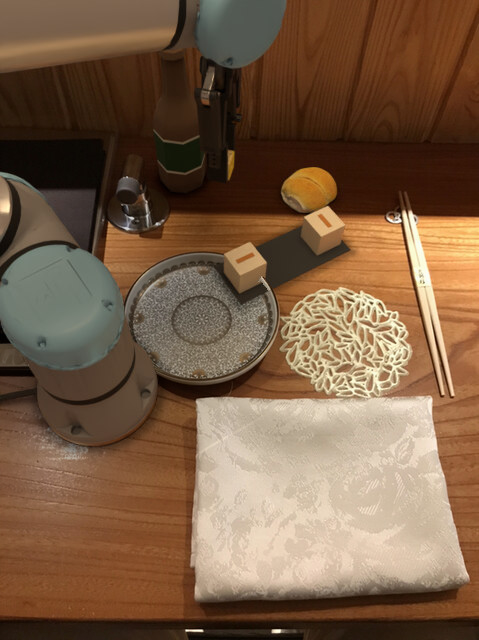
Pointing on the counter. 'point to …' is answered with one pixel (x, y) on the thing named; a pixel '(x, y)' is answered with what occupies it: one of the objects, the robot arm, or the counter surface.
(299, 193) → the bread roll
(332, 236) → the beige wooden block
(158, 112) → the beer bottle
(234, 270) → the small cardboard box
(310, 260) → the word mat
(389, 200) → the counter surface
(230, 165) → the alphabet block
